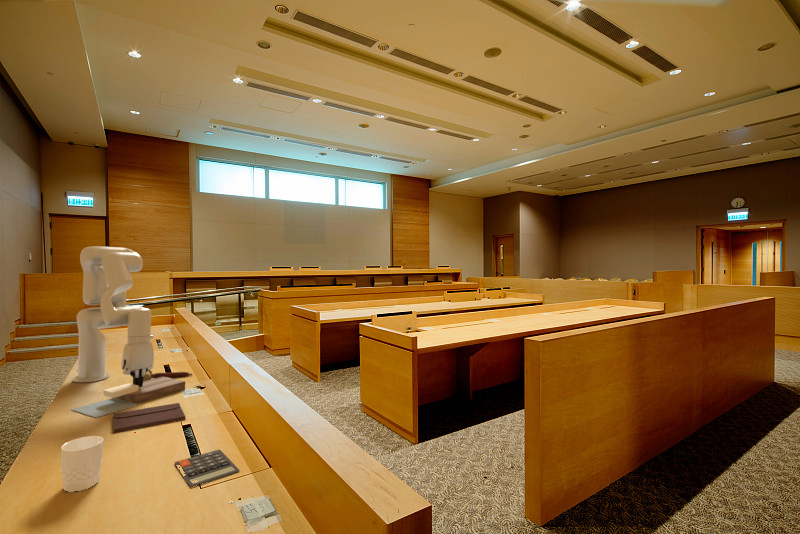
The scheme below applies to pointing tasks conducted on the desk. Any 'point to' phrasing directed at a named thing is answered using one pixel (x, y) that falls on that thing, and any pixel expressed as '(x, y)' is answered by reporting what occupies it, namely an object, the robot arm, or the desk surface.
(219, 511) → the desk surface
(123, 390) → the cream flat block
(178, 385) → the brown wooden board
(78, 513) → the desk surface
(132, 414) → the notebook
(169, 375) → the gavel
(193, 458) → the calculator
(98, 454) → the white cup
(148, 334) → the robot arm
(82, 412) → the mat
